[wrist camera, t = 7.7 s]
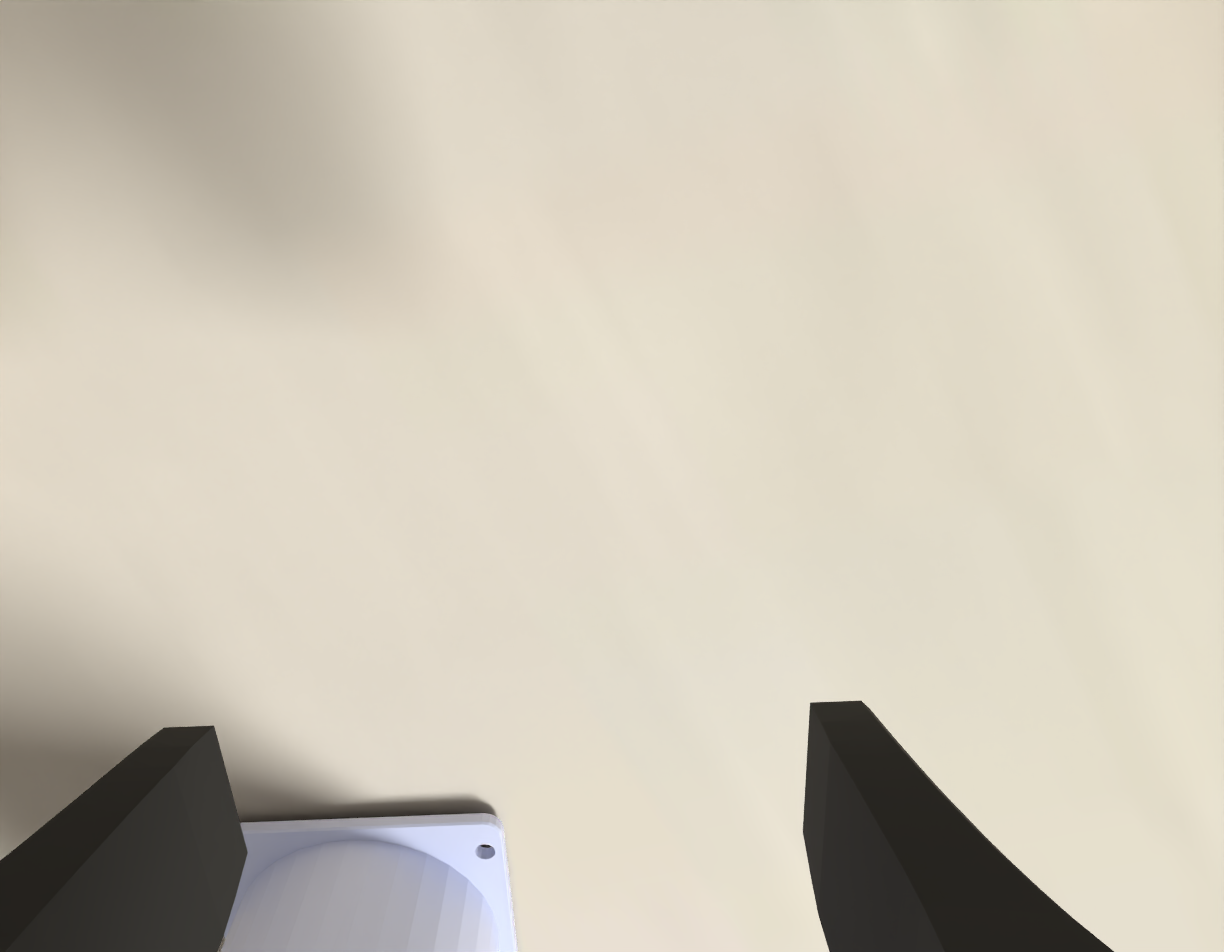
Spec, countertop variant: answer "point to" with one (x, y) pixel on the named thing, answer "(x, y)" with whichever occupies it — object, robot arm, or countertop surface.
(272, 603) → the countertop surface
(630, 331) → the countertop surface
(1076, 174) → the countertop surface
